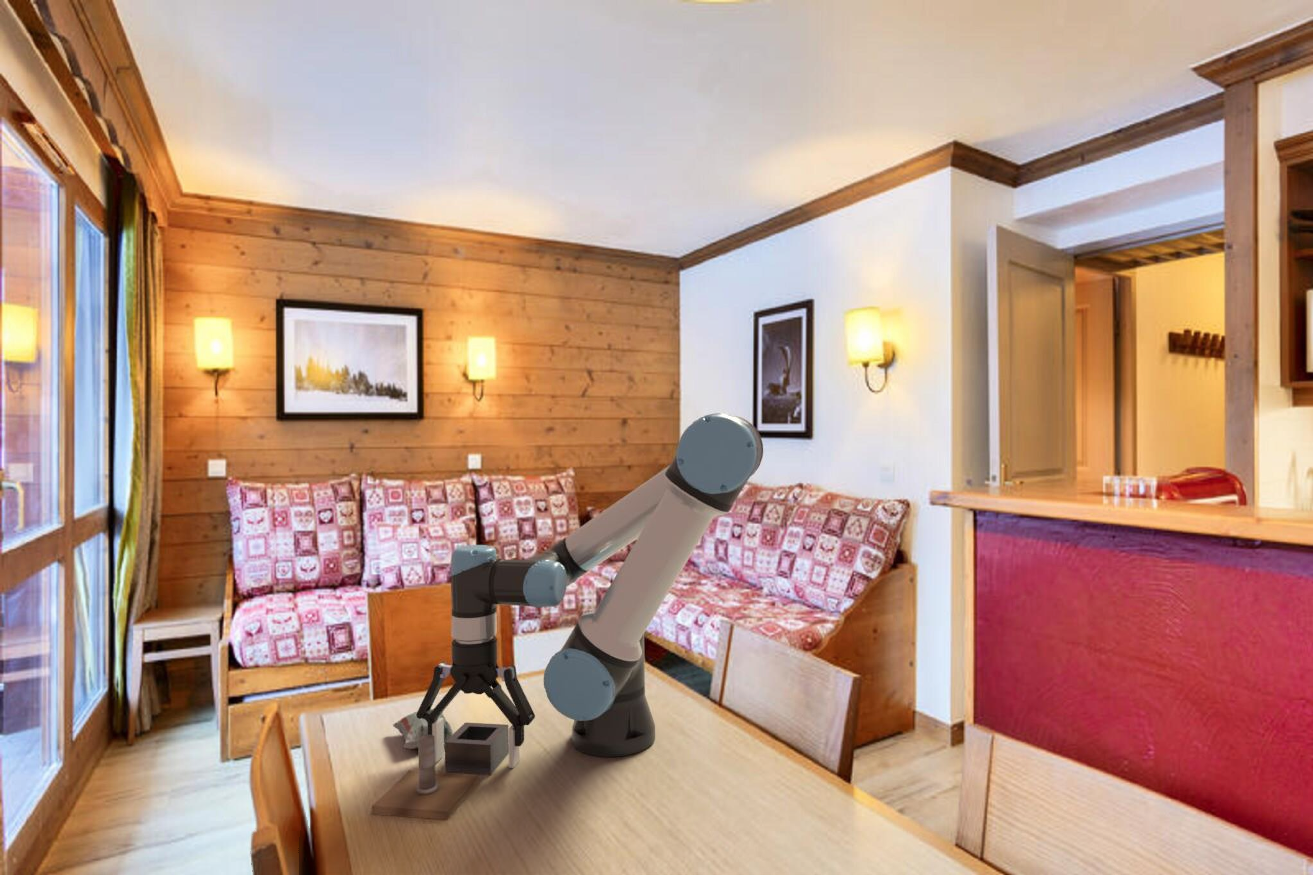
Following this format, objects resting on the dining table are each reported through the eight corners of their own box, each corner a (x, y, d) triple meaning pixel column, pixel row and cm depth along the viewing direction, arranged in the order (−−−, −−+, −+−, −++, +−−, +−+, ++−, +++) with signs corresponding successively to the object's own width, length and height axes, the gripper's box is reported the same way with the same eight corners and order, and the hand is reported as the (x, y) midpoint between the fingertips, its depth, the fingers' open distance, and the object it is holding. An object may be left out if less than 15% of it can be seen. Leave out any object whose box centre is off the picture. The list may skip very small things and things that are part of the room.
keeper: (478, 782, 114) (477, 725, 113) (447, 819, 103) (446, 756, 103) (409, 777, 115) (408, 721, 115) (371, 813, 105) (370, 751, 105)
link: (508, 753, 124) (508, 724, 124) (490, 775, 116) (490, 744, 116) (465, 750, 125) (465, 722, 125) (445, 772, 117) (444, 742, 117)
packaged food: (404, 759, 122) (404, 731, 122) (392, 734, 133) (392, 708, 133) (455, 748, 126) (454, 721, 126) (440, 725, 137) (440, 699, 137)
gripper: (552, 633, 122) (553, 756, 122) (417, 628, 126) (418, 746, 126) (537, 647, 115) (539, 777, 115) (394, 641, 119) (396, 766, 119)
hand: (476, 761), depth 121 cm, fingers open, 13 cm apart
